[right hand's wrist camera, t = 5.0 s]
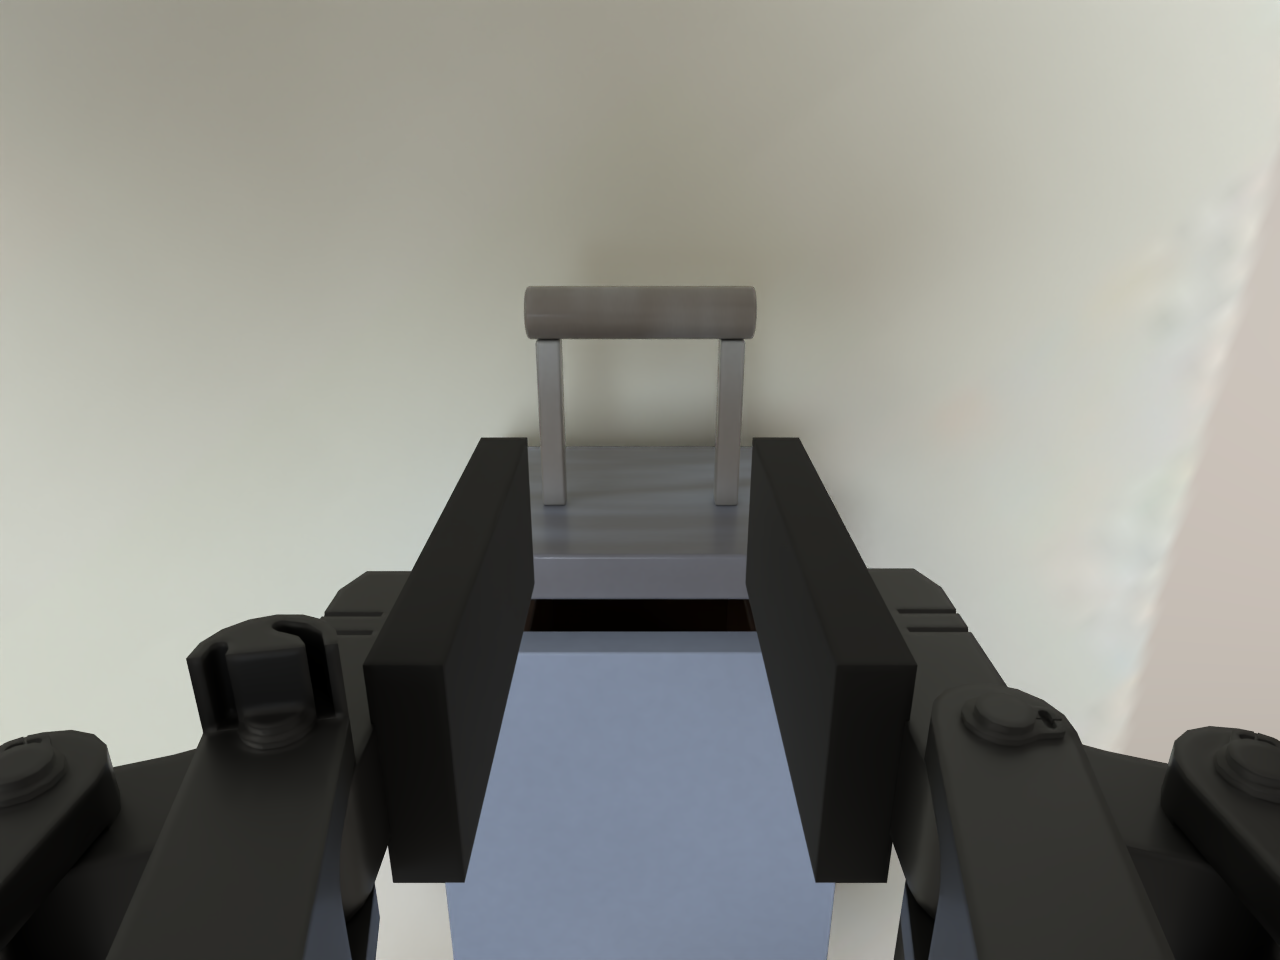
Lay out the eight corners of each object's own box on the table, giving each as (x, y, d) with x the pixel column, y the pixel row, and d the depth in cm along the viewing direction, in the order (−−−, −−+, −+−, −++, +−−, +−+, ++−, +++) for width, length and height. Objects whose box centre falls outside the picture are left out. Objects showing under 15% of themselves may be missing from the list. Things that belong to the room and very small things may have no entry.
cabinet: (487, 492, 29) (418, 653, 20) (793, 492, 29) (861, 653, 20) (519, 940, 36) (480, 1201, 27) (761, 940, 36) (800, 1201, 27)
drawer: (485, 261, 25) (424, 311, 18) (795, 261, 25) (856, 311, 18) (527, 901, 34) (497, 1100, 27) (753, 901, 34) (783, 1100, 27)
